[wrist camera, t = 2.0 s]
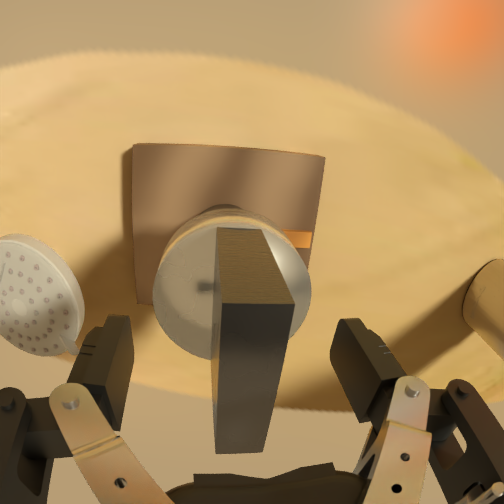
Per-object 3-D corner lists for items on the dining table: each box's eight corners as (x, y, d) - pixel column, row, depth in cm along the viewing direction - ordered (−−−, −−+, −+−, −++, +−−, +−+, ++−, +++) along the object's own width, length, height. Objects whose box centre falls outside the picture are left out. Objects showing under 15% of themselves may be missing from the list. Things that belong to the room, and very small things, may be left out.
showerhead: (57, 387, 19) (-40, 312, 16) (82, 333, 26) (1, 271, 22) (105, 314, 17) (-16, 216, 14) (130, 262, 24) (36, 188, 20)
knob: (307, 213, 16) (388, 298, 8) (283, 347, 19) (319, 459, 11) (159, 205, 15) (111, 294, 7) (164, 345, 18) (150, 465, 10)
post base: (318, 155, 22) (363, 172, 15) (295, 298, 27) (322, 356, 20) (137, 143, 20) (103, 154, 13) (140, 294, 25) (121, 353, 18)
